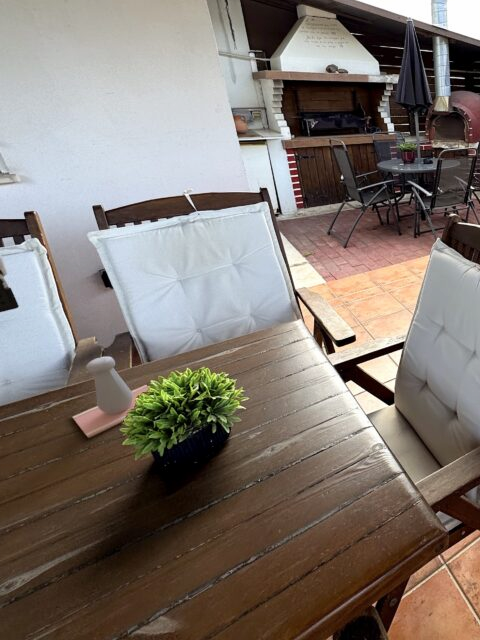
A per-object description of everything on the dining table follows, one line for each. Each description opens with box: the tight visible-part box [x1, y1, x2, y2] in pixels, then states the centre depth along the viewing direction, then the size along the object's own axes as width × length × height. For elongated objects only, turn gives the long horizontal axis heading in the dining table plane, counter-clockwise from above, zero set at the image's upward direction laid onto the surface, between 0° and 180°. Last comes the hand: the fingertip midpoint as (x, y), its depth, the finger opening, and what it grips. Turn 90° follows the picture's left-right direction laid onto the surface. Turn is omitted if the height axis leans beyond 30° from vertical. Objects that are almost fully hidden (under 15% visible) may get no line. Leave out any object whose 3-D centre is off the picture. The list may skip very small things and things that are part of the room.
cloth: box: [72, 384, 149, 439], centre depth 91 cm, size 13×11×1 cm
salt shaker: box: [86, 356, 133, 415], centre depth 89 cm, size 6×6×13 cm
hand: (0, 303), depth 76 cm, fingers open, 9 cm apart
